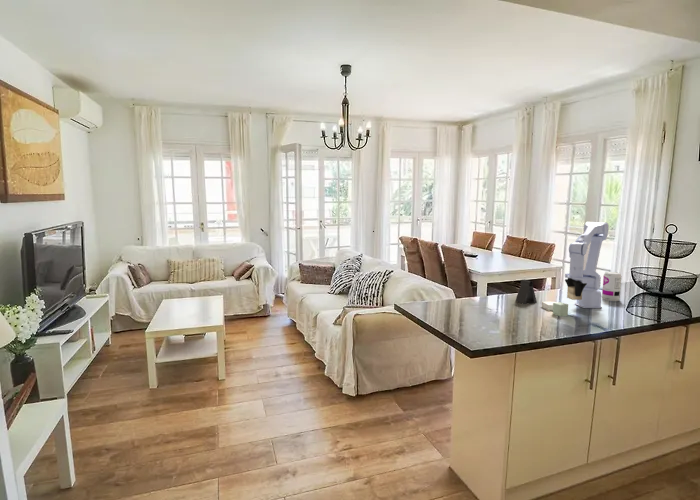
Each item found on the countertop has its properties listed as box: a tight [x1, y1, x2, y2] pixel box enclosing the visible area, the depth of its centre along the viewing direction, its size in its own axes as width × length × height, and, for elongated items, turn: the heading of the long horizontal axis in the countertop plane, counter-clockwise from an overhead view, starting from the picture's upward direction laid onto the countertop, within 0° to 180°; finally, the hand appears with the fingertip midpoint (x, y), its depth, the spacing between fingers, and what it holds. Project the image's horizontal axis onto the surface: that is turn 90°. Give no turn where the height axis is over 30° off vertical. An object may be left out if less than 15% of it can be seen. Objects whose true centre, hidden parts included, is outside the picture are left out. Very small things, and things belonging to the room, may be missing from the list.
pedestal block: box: [541, 301, 558, 311], centre depth 199 cm, size 7×7×3 cm
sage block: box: [552, 301, 569, 317], centre depth 187 cm, size 4×4×6 cm
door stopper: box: [514, 279, 538, 305], centre depth 211 cm, size 9×6×12 cm, turn 108°
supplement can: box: [601, 271, 622, 302], centre depth 215 cm, size 8×8×15 cm
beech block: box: [566, 286, 582, 301], centre depth 190 cm, size 4×4×6 cm
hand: (574, 294), depth 190 cm, fingers closed on beech block, 4 cm apart
